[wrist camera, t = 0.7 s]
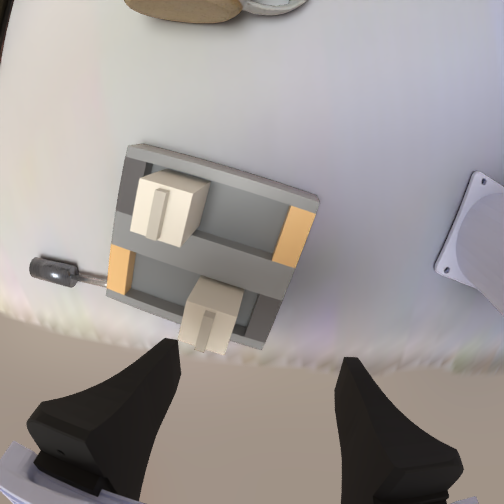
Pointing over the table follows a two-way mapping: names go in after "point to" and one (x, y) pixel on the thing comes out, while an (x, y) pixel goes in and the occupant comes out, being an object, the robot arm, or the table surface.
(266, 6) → the ceramic mug
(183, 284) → the switch bank
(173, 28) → the table surface
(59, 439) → the robot arm
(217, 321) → the tab
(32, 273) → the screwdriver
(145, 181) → the tab
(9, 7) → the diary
